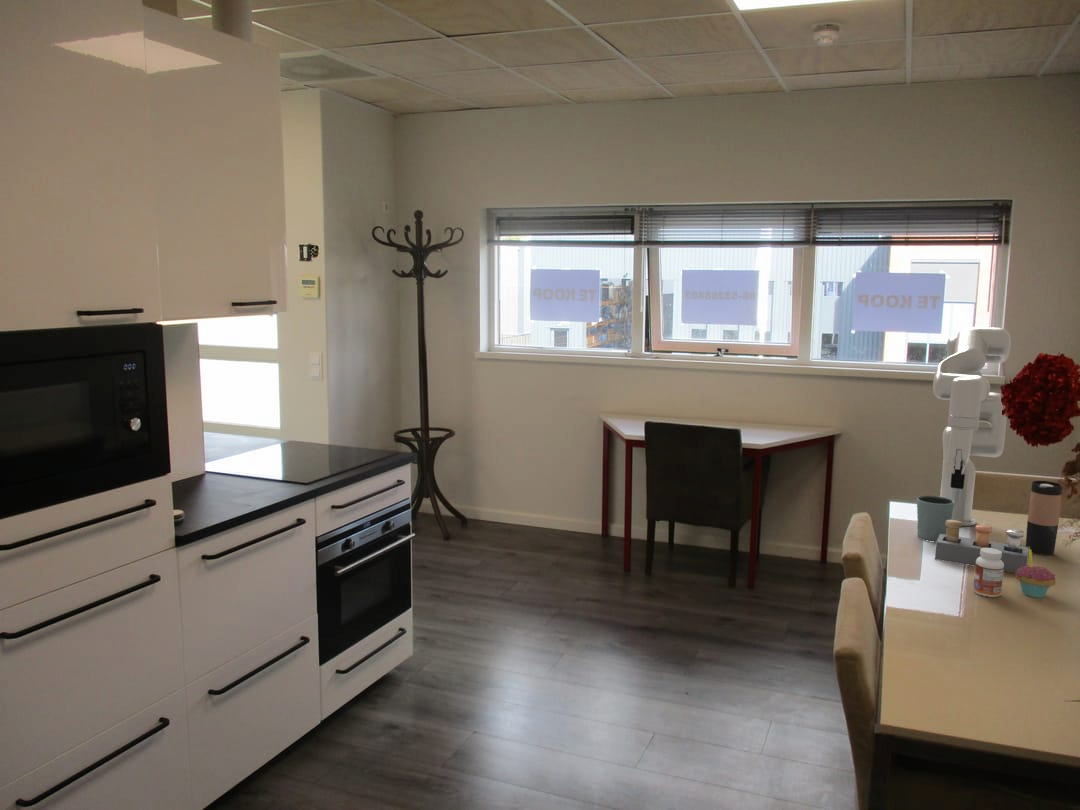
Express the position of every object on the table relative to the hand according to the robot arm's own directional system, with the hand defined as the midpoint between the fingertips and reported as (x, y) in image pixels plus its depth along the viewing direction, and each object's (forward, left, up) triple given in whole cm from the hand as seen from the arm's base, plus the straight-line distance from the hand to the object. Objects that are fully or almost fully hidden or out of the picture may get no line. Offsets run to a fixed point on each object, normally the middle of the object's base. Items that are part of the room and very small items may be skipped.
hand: (956, 487), depth 232 cm
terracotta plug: (0, +7, -16) cm, 18 cm away
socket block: (0, +7, -20) cm, 21 cm away
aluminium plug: (0, +15, -16) cm, 22 cm away
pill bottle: (+25, +10, -20) cm, 34 cm away
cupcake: (+19, +20, -20) cm, 35 cm away
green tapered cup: (-17, -7, -20) cm, 27 cm away
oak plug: (0, 0, -16) cm, 16 cm away
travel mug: (-21, +21, -20) cm, 36 cm away
